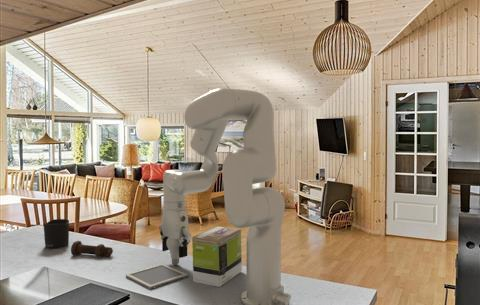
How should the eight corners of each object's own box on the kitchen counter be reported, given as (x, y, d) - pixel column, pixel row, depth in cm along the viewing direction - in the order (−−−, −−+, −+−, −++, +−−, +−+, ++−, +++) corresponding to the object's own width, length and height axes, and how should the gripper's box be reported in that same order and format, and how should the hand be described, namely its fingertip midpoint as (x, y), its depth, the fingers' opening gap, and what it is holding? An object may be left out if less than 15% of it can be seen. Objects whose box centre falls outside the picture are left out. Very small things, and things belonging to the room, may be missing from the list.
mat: (187, 276, 129) (187, 274, 129) (150, 289, 119) (150, 286, 119) (162, 266, 138) (162, 263, 138) (125, 277, 128) (125, 274, 128)
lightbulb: (180, 268, 136) (180, 236, 136) (163, 267, 137) (163, 236, 137) (186, 262, 142) (186, 232, 142) (170, 261, 143) (170, 231, 143)
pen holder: (41, 245, 163) (40, 221, 163) (65, 241, 169) (64, 218, 169) (47, 250, 156) (47, 225, 155) (72, 246, 162) (72, 222, 161)
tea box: (216, 267, 138) (216, 225, 137) (242, 272, 133) (242, 228, 132) (191, 282, 124) (191, 235, 124) (219, 288, 120) (219, 239, 119)
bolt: (110, 262, 148) (73, 258, 151) (115, 252, 152) (80, 248, 155) (106, 251, 145) (68, 247, 148) (112, 241, 149) (75, 237, 152)
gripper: (198, 207, 135) (198, 256, 136) (168, 200, 147) (168, 245, 149) (180, 210, 130) (181, 262, 131) (151, 203, 142) (151, 250, 143)
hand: (174, 253), depth 140 cm, fingers open, 9 cm apart
